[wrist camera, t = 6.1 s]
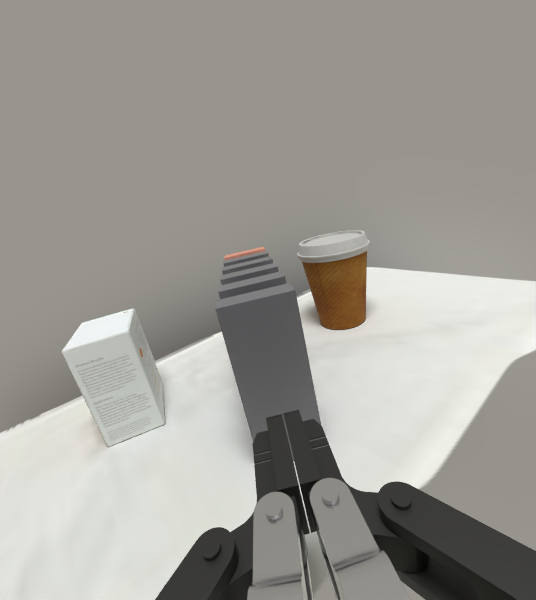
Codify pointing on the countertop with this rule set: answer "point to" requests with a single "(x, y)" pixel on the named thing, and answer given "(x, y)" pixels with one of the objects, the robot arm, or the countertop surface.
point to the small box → (117, 376)
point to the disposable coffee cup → (337, 276)
